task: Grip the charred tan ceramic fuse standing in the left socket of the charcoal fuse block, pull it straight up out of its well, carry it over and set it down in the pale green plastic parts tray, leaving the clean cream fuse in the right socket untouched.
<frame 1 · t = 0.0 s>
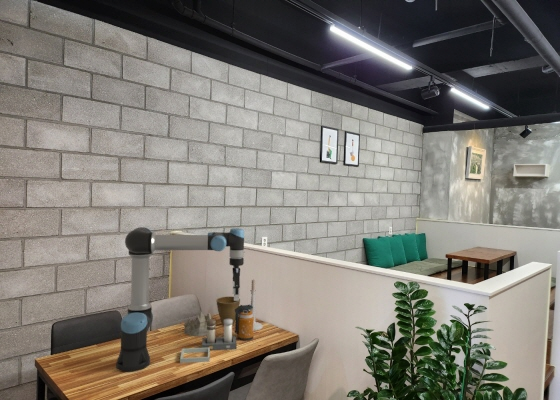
hand: (235, 296, 204), 28 cm above the table, fingers open, 13 cm apart
plant pot: (227, 324, 241), on the table
blown fuse: (210, 346, 204), point 1 cm above the table, touching fuse block
candlestick: (252, 327, 238), on the table
fuse block: (219, 348, 204), on the table
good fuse: (227, 345, 205), point 1 cm above the table, touching fuse block
canister: (243, 340, 217), on the table
parts tray: (195, 358, 190), on the table
ceramic cottage: (199, 333, 225), on the table
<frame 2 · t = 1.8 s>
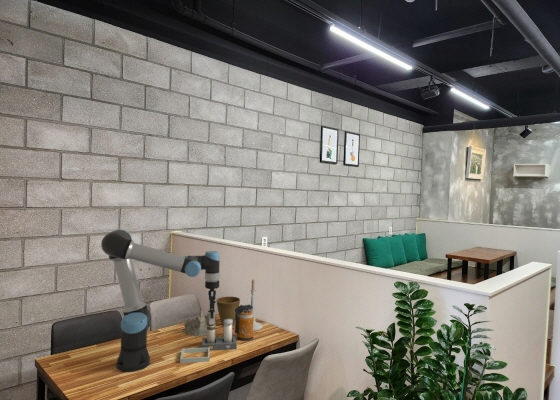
hand: (211, 319, 203), 15 cm above the table, fingers open, 13 cm apart
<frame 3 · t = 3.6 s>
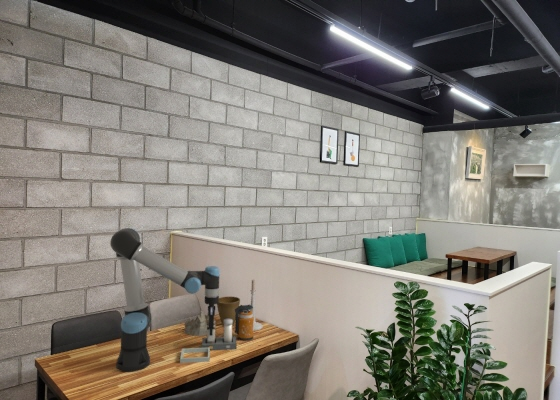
hand: (210, 338, 203), 5 cm above the table, fingers closed on blown fuse, 4 cm apart
blown fuse: (210, 346, 204), point 1 cm above the table, touching fuse block, gripper
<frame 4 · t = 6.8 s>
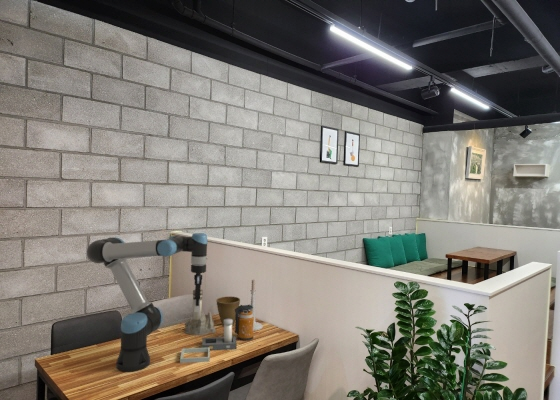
hand: (197, 310, 191), 24 cm above the table, fingers closed on blown fuse, 4 cm apart
blown fuse: (196, 318, 191), point 20 cm above the table, touching gripper
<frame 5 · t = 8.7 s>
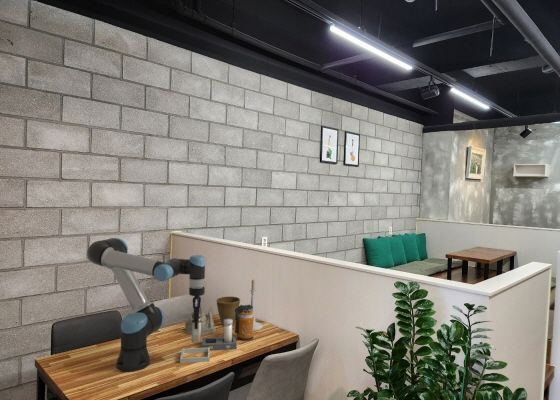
hand: (196, 332, 190), 13 cm above the table, fingers closed on blown fuse, 4 cm apart
blown fuse: (196, 341, 190), point 9 cm above the table, touching gripper
when the fingers open (6 cm above the table, at t = 10.1 s): blown fuse drops 1 cm, resting on parts tray.
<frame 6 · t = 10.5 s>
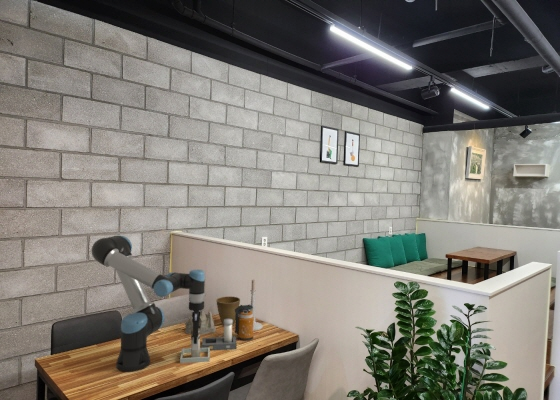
hand: (195, 345, 190), 7 cm above the table, fingers open, 9 cm apart
blown fuse: (195, 357, 190), point 1 cm above the table, touching parts tray
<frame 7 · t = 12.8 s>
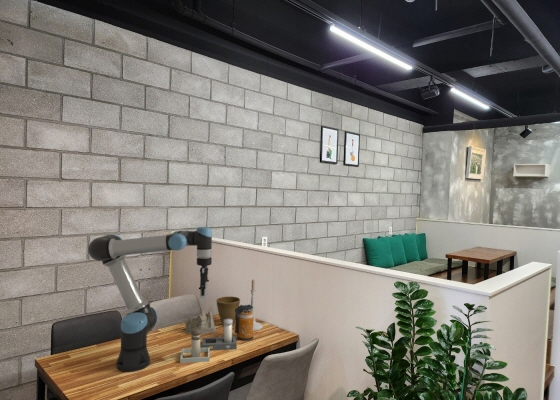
hand: (203, 298, 196), 29 cm above the table, fingers open, 13 cm apart
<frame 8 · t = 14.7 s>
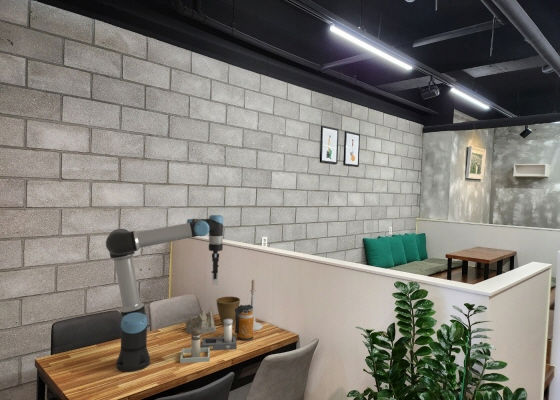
hand: (214, 281, 208), 35 cm above the table, fingers open, 13 cm apart
at the end: blown fuse inside the target area on the parts tray (0.0 cm from its centre), point 0.6 cm above the parts tray's base; blown fuse touching parts tray; the gripper is holding nothing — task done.
